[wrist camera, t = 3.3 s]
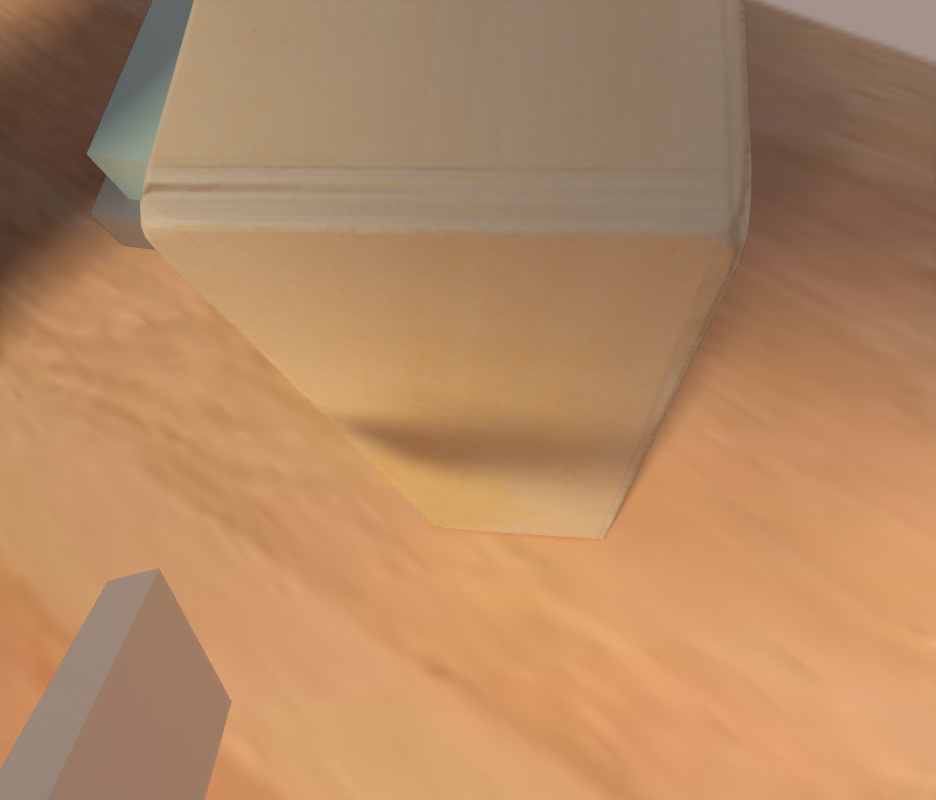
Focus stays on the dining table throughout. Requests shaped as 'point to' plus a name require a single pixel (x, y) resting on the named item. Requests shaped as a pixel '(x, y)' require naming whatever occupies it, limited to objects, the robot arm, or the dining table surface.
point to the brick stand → (136, 120)
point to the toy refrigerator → (465, 227)
